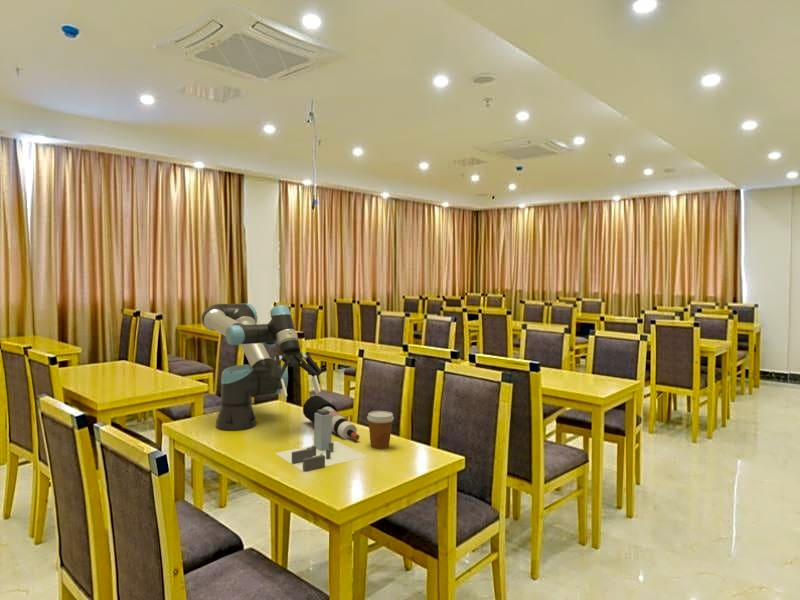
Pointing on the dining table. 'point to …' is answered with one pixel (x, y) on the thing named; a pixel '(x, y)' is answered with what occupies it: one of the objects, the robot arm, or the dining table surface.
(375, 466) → the dining table surface
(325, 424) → the block
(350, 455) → the routing panel
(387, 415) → the disposable coffee cup
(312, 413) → the cable
